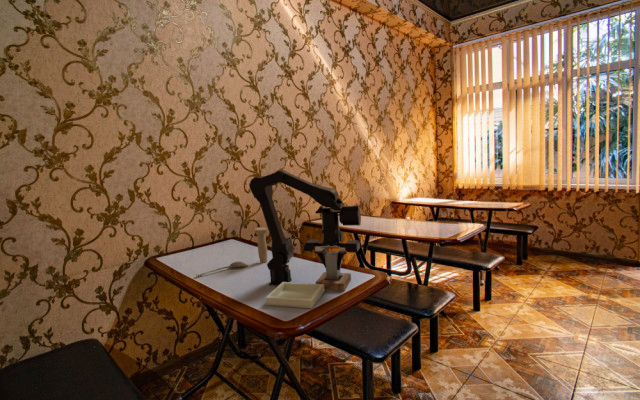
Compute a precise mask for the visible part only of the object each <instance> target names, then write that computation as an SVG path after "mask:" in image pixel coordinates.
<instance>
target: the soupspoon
mask: <svg viewBox="0 0 640 400" xmlns="http://www.w3.org/2000/svg"><path fill="white" fill-rule="evenodd" d="M248 266H249V265H248V264H247V263H245V262H243V261H234V262H231V263H230V264H229V265H228V266H223V267H219V268H216V269H213V270H209V271H206V272H203V273H200V274H195V277H196V279H198V278H200V277H203V276H205V275H206V274H209V273H210V274H211V273H214V272H216V271H221V270H224V269H229V268H237V267H238V268H239V267H248Z"/></svg>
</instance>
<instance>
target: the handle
mask: <svg viewBox="0 0 640 400" xmlns="http://www.w3.org/2000/svg"><path fill="white" fill-rule="evenodd" d="M254 233H255V234H256V235H257V253H258V258H259V262H260V263H261V264H262V263H263V264H265V263H268V247H267V240H266V234H267V233H268V227H256V228H254Z"/></svg>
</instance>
